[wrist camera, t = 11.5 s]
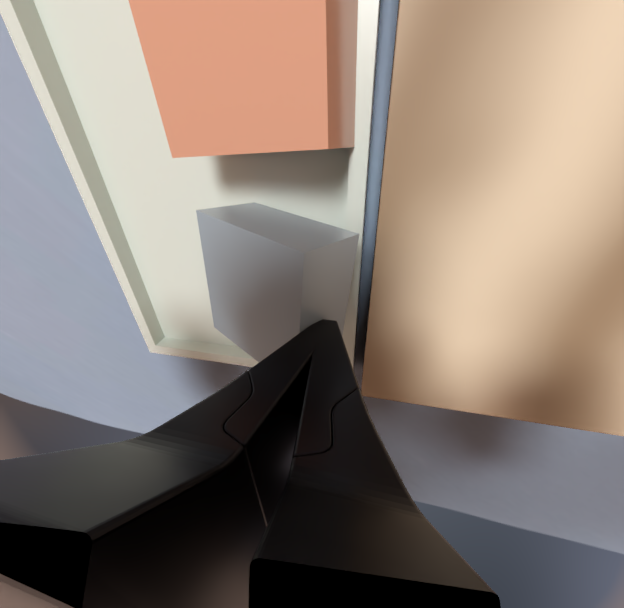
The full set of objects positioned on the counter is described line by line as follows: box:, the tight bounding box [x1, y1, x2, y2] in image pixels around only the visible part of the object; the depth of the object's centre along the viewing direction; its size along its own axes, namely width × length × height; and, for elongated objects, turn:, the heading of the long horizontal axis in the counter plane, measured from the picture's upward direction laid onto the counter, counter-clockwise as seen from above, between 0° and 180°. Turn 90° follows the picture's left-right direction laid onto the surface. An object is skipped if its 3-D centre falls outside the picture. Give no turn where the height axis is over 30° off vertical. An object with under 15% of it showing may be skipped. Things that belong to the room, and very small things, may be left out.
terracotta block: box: [128, 0, 358, 158], centre depth 7 cm, size 5×5×2 cm
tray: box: [0, 0, 381, 368], centre depth 11 cm, size 12×18×1 cm, turn 2°
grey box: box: [196, 202, 359, 362], centre depth 10 cm, size 5×5×2 cm
